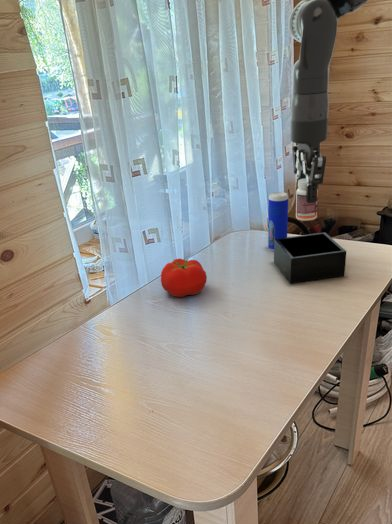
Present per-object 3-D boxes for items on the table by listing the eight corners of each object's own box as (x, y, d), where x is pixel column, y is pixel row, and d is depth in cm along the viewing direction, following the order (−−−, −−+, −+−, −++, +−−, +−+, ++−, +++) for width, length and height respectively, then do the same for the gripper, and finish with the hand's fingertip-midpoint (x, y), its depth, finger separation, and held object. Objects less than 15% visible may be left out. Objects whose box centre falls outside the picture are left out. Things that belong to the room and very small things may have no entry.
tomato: (212, 297, 121) (210, 268, 116) (166, 305, 119) (162, 275, 115) (201, 279, 129) (199, 251, 125) (159, 286, 128) (155, 258, 124)
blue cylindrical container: (266, 246, 145) (266, 192, 137) (284, 244, 145) (285, 190, 137) (270, 252, 141) (271, 198, 133) (289, 250, 141) (290, 196, 133)
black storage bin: (323, 256, 136) (325, 232, 133) (344, 276, 125) (346, 251, 121) (273, 262, 135) (274, 238, 131) (290, 284, 124) (291, 258, 120)
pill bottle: (320, 219, 115) (322, 181, 111) (300, 222, 115) (300, 184, 110) (312, 213, 119) (313, 176, 115) (292, 216, 119) (293, 179, 114)
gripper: (341, 119, 100) (336, 205, 109) (314, 109, 112) (311, 188, 121) (304, 123, 99) (302, 210, 108) (280, 113, 111) (280, 192, 120)
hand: (307, 198), depth 115 cm, fingers closed on pill bottle, 4 cm apart
